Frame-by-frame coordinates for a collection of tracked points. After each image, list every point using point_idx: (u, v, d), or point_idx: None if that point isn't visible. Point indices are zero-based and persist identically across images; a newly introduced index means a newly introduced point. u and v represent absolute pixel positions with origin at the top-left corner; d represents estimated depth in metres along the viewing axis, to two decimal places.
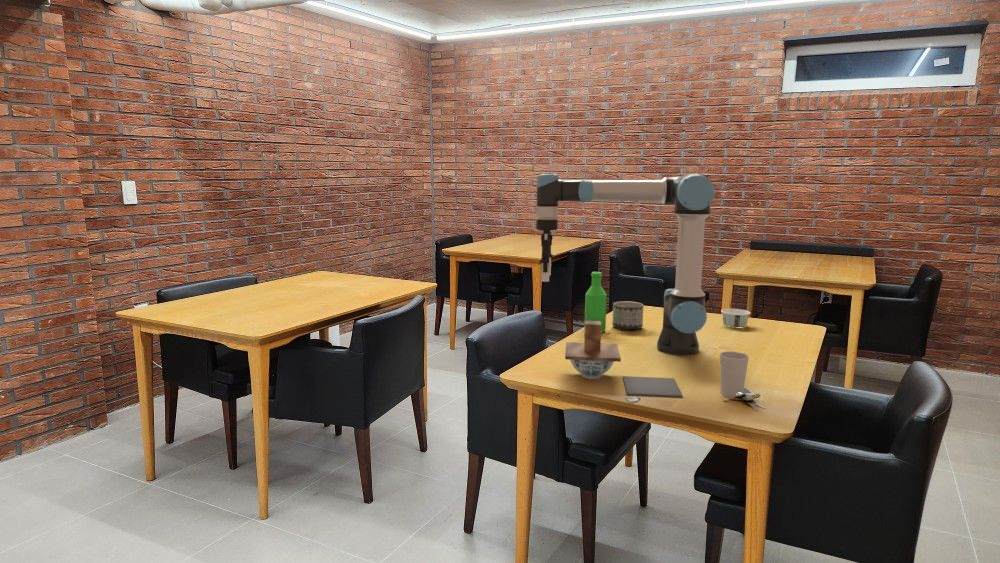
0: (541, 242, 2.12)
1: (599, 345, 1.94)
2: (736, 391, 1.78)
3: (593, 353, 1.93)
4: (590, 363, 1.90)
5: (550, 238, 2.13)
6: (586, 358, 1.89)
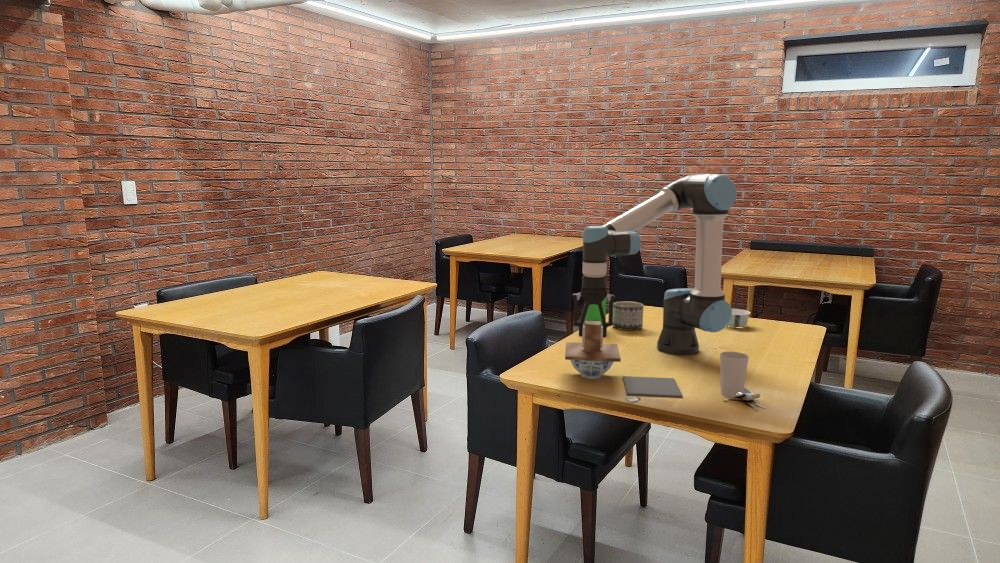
0: (585, 301, 1.96)
1: (599, 345, 1.94)
2: (736, 391, 1.78)
3: (593, 353, 1.93)
4: (590, 363, 1.90)
5: (587, 298, 1.93)
6: (586, 358, 1.89)
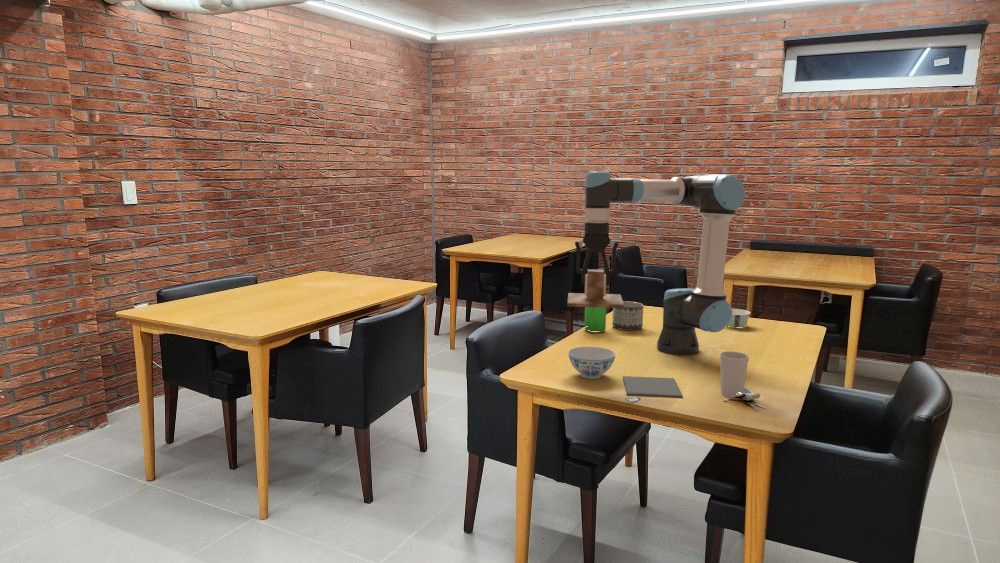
0: None
1: (602, 293, 1.91)
2: (736, 391, 1.78)
3: (596, 301, 1.90)
4: (590, 363, 1.90)
5: (589, 245, 1.90)
6: (589, 305, 1.86)
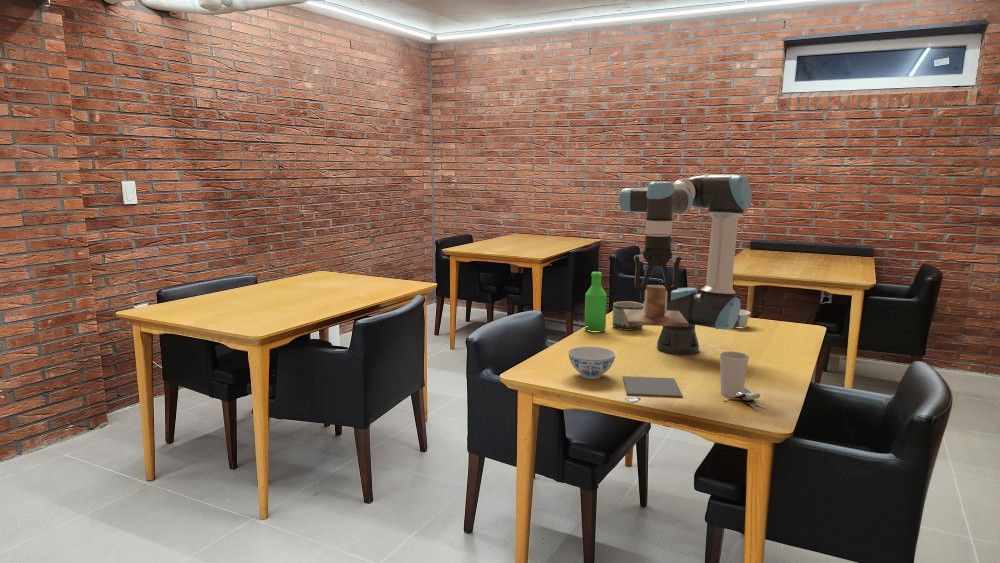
0: None
1: (663, 310, 1.80)
2: (736, 391, 1.78)
3: (657, 319, 1.79)
4: (590, 363, 1.90)
5: (650, 259, 1.80)
6: (651, 323, 1.76)
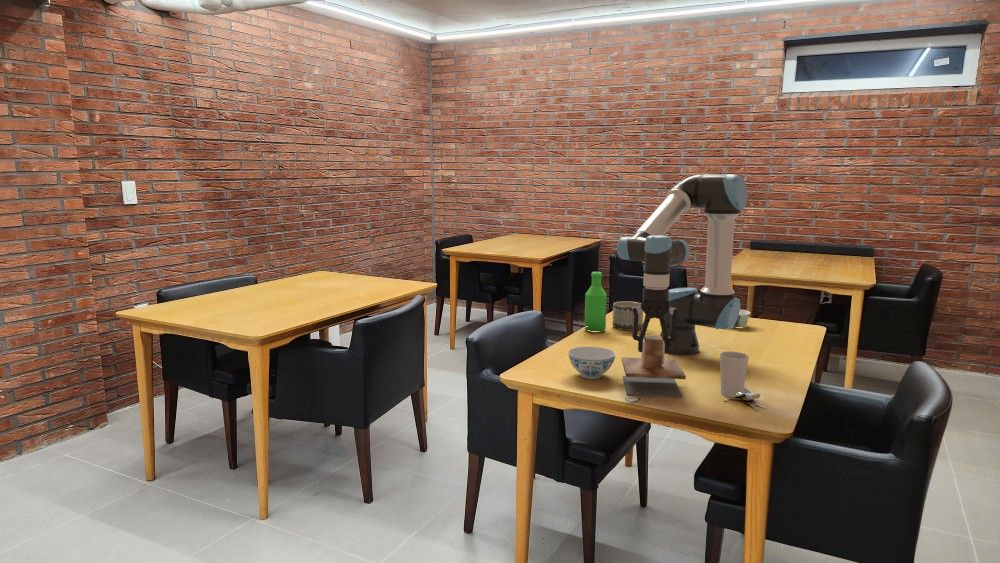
0: (645, 315, 1.86)
1: (660, 361, 1.83)
2: (736, 391, 1.78)
3: (654, 370, 1.82)
4: (589, 363, 1.90)
5: (648, 311, 1.82)
6: (648, 375, 1.78)
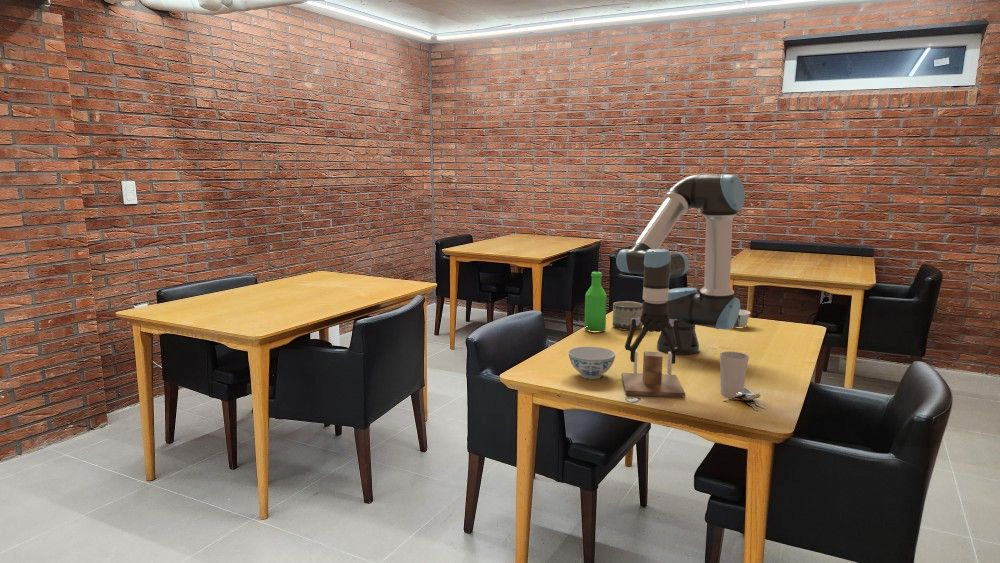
0: (643, 327, 1.86)
1: (660, 378, 1.84)
2: (736, 391, 1.78)
3: (654, 386, 1.83)
4: (590, 363, 1.90)
5: (647, 324, 1.83)
6: (648, 392, 1.79)
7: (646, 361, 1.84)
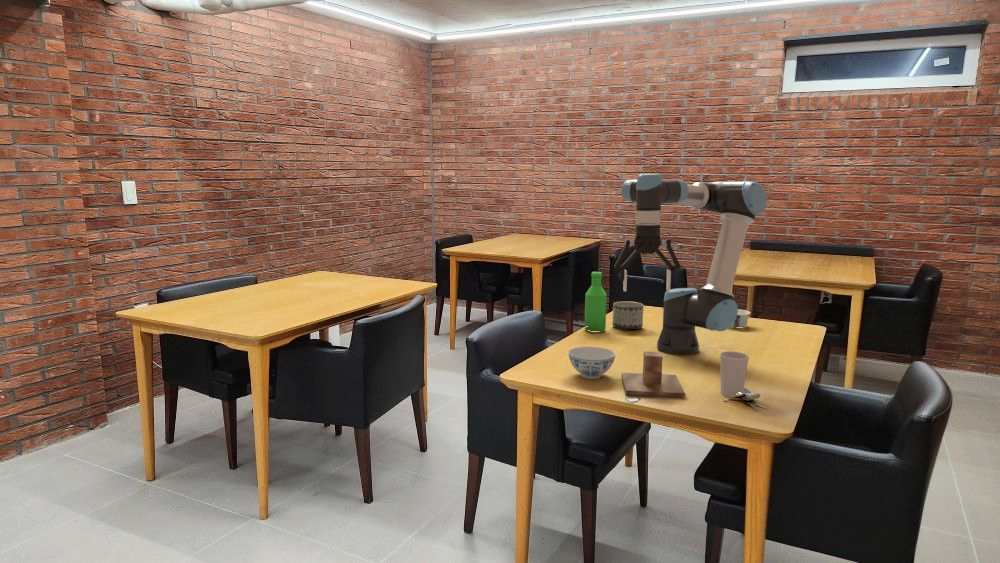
0: (635, 249, 1.94)
1: (660, 378, 1.84)
2: (736, 391, 1.78)
3: (654, 386, 1.83)
4: (590, 363, 1.90)
5: (640, 246, 1.91)
6: (648, 392, 1.79)
7: (646, 361, 1.84)
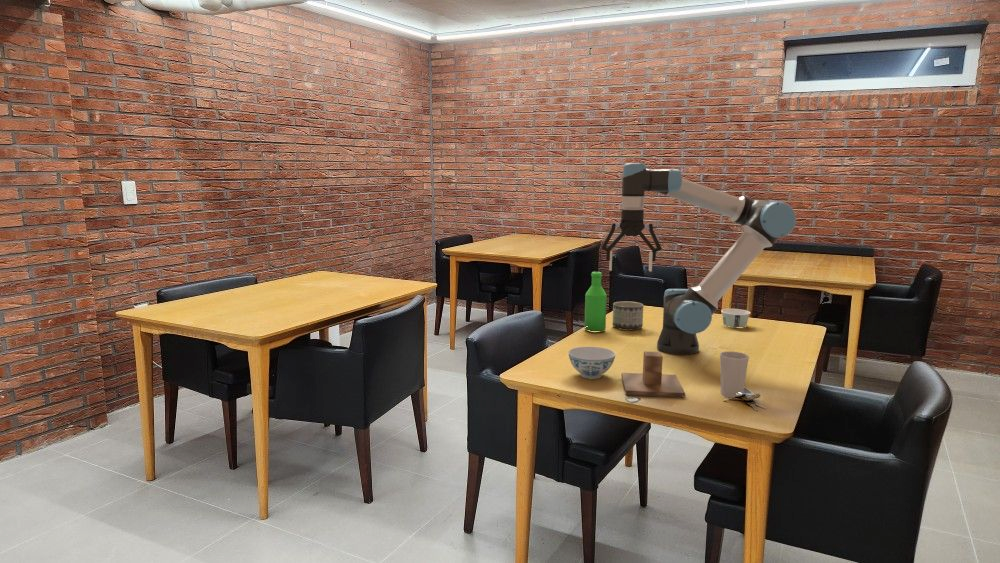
0: (621, 232, 2.12)
1: (660, 378, 1.84)
2: (736, 391, 1.78)
3: (654, 386, 1.83)
4: (589, 363, 1.90)
5: (625, 228, 2.09)
6: (648, 392, 1.79)
7: (646, 361, 1.84)
